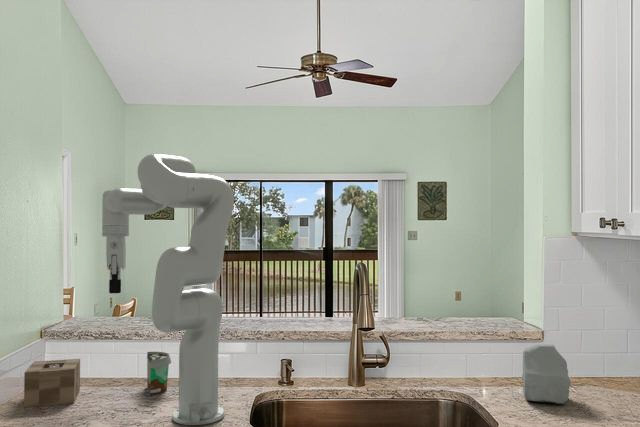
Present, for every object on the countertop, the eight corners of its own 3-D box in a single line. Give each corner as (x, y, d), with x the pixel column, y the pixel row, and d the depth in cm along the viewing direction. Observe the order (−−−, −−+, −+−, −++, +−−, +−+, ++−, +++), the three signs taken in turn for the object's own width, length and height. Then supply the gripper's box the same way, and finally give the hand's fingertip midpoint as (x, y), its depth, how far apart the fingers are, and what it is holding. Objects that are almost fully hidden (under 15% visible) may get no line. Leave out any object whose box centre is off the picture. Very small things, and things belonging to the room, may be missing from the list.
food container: (173, 395, 156) (173, 359, 157) (150, 397, 154) (150, 361, 154) (168, 383, 168) (168, 349, 168) (146, 385, 166) (147, 351, 166)
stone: (566, 395, 157) (565, 341, 157) (571, 409, 145) (571, 351, 146) (522, 391, 161) (521, 338, 161) (523, 404, 149) (523, 347, 149)
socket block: (74, 403, 149) (74, 369, 149) (24, 407, 146) (24, 372, 146) (79, 390, 161) (80, 358, 161) (33, 393, 157) (34, 361, 157)
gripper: (127, 231, 162) (127, 295, 161) (129, 231, 176) (129, 289, 176) (99, 232, 160) (99, 296, 159) (104, 231, 174) (103, 290, 174)
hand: (115, 292), depth 167 cm, fingers closed
